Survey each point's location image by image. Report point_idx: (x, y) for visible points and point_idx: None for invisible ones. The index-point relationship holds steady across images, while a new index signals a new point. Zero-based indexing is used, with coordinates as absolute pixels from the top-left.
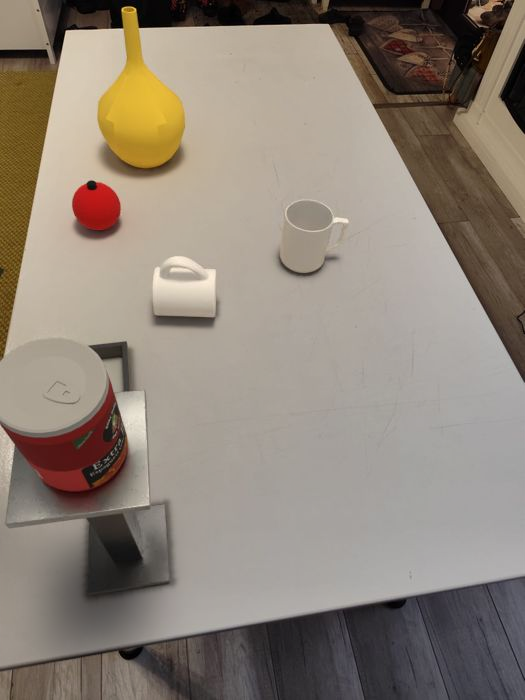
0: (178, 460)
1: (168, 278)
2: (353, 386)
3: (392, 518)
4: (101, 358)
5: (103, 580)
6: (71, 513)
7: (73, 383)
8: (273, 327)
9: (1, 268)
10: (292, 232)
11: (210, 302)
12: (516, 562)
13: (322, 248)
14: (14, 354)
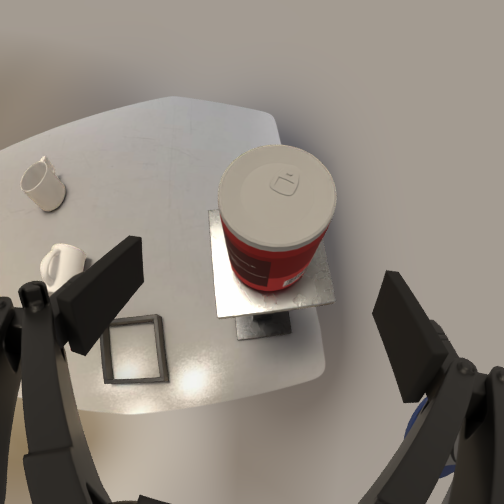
0: (197, 282)
1: (54, 279)
2: (155, 169)
3: None
4: (109, 343)
5: (283, 323)
6: (324, 252)
7: (275, 172)
8: (100, 216)
9: (127, 237)
10: (40, 188)
11: (77, 251)
12: (268, 113)
13: (55, 175)
14: (241, 228)
